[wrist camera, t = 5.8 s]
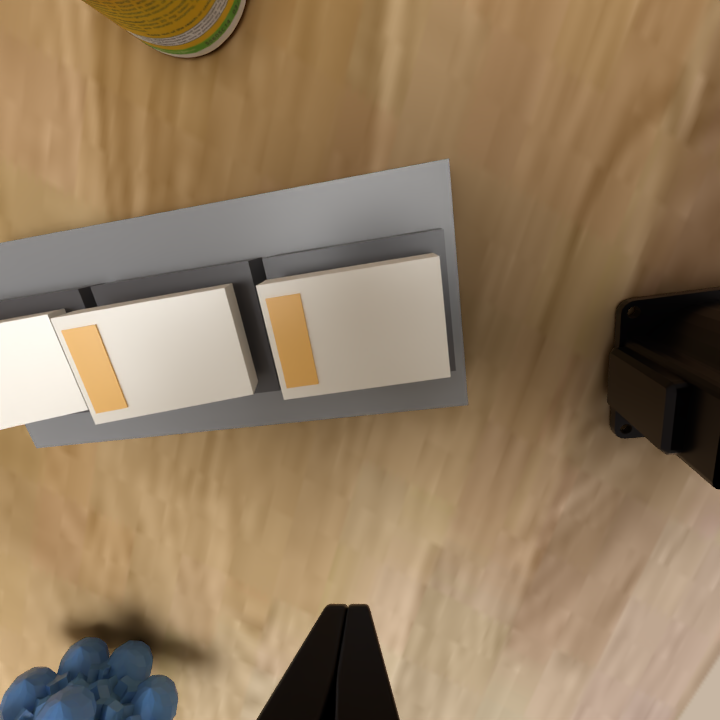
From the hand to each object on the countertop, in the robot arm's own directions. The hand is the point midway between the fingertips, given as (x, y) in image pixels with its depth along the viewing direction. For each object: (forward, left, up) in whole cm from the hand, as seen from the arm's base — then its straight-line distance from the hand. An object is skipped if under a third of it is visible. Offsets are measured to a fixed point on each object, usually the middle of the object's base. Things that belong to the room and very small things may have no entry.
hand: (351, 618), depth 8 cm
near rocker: (0, -4, -7) cm, 9 cm away
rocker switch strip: (+6, -4, -12) cm, 14 cm away
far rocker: (+13, -4, -7) cm, 16 cm away
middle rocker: (+7, -4, -7) cm, 11 cm away
